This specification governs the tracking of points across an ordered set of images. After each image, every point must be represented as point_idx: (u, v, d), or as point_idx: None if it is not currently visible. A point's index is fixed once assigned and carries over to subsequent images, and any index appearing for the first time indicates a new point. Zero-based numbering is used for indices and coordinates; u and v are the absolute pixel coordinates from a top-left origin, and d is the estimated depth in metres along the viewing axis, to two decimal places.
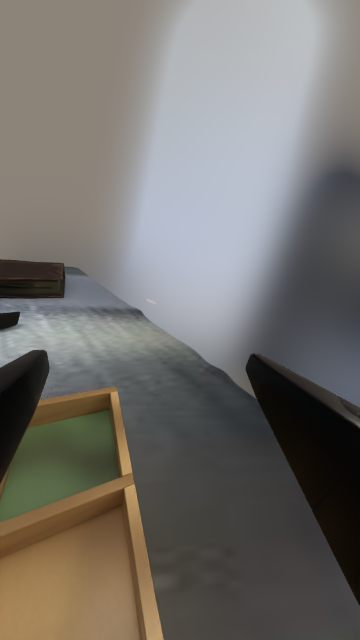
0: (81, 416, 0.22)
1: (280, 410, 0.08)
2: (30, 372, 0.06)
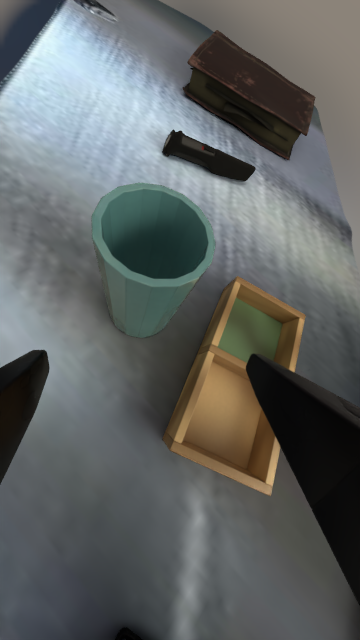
0: (264, 314, 0.27)
1: (280, 410, 0.08)
2: (30, 372, 0.06)
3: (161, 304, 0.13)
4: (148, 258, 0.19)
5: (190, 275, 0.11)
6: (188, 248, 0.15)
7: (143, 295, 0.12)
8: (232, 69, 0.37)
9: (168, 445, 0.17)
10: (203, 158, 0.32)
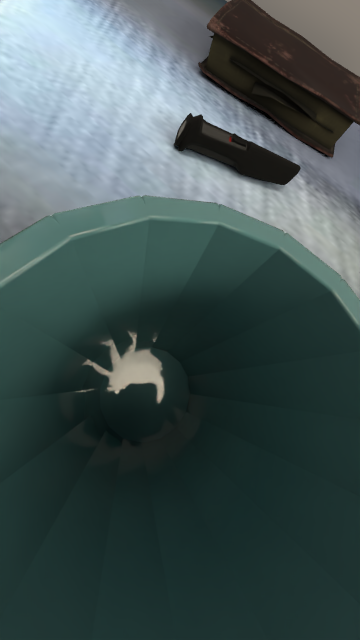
0: None
1: None
2: None
3: None
4: (159, 330, 0.10)
5: None
6: (263, 353, 0.06)
7: None
8: (263, 38, 0.28)
9: None
10: (231, 153, 0.23)
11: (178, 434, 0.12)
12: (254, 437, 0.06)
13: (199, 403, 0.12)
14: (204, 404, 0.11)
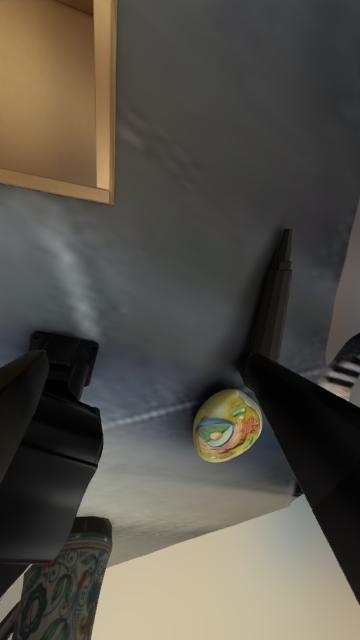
0: None
1: (280, 410, 0.08)
2: (30, 372, 0.06)
3: None
4: None
5: None
6: None
7: None
8: None
9: None
10: None
11: None
12: None
13: None
14: None
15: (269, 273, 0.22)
